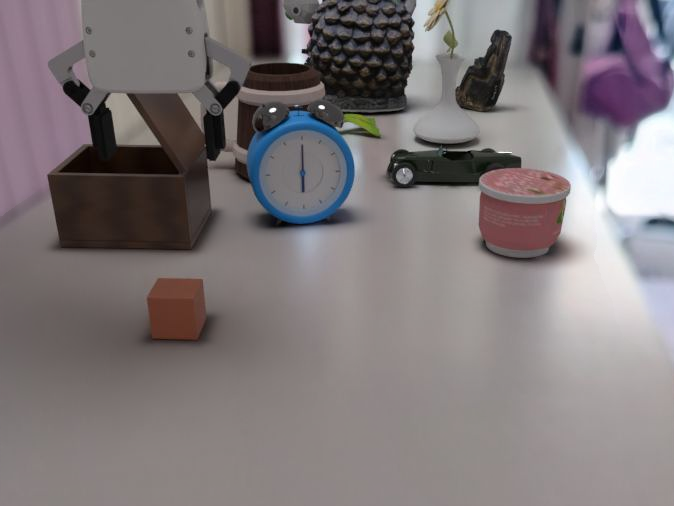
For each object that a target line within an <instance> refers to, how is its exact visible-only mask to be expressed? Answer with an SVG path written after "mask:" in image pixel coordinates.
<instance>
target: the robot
mask: <svg viewBox="0 0 674 506" xmlns="http://www.w3.org/2000/svg"><path fill="white" fill-rule="evenodd" d="M319 4H320V2H319V0H283V3H282V7H283V9H284V11H285V12H284V15H285V17H286V18H287V19H288V20H289V21H293V23H294V24H300V25H301V24H302V25H311V24H312V19H311V17H312V16H313V15H314V11H315V10H316V9H317V8H318V5H319ZM301 54H303V55H306V56H307V57H306V59H305V61H304V63H303V64H305V65H309V66H311V67H313V66H312V65H311V63H310V60H311V53H310V51H309V50H308V49H307V48H301Z"/></svg>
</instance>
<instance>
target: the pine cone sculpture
mask: <svg viewBox="0 0 674 506" xmlns="http://www.w3.org/2000/svg"><path fill="white" fill-rule="evenodd" d="M416 8H417V0H322V1H321V3H319V5H318V8H317V9H316V10H315V11H314V15H313V16H312V17H311V19H312V23H311V24H308V27H307V33H308V35H309V37H310V38H309V40H308V42H307V44H306V49H308V50H309V51H310V53H311V60H310V63H311V65H312V66H313V68H314V69H315V70H316V71H318V72H319V78H320V81H321V82H322V83H323V84H324V88H325V96H324V97H323V99H326V100H329V101H332V100H334V104H336V105H337V106H339V108H340V109H341V110H342V112H343V113H349V112H350V113H359V112H360V113H378V112H382V113H383V112H392V111H393V112H395V111H400V110H405V108H406V106H407V103H408V98H407V95H406V93H405V92H406V91H405V90H406V88H407V86H408V79H409V78H410V75H411V74H412V71H413V68H414V67H413V52H414V50H415V48H416V47H415V45H414V43H413V41H414V39H415V31H414V30H413V28H414V26H415V24H416V22H415V20H414V19H413V14H414V12H415V10H416Z"/></svg>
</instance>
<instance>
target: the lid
mask: <svg viewBox="0 0 674 506" xmlns="http://www.w3.org/2000/svg"><path fill="white" fill-rule="evenodd" d="M125 94H126V96H127V97H128V99H129V101H130V102H131V103H132V104H133V106H134V108H135V110H136V111H137V112H138V114H139V116H140V117H141V118H142V119H143V121H144V123H145V124H146V125H147V127H148V128H149V130H150V131H151V133H152V135H153V136H154V138H155V139H156V140H157V142H158V143H159V145H161V146H162V148H163V149H164V151H165V152H166V154H167V155H168V156H169V158H170V159H171V161H172V162H173V164H174V165H175V167H176V168H177V170H178V171H179V173H180V174H183V173H184V172H186V171H187V169H188V168H189V167H190V165H191V164H192V162H193V161H194V160H195V158H196V157H197V155H198V154H199V153H200V151H201V150H202V149H203V147H204V146H206V144H205V135H204V134H203V131H202V128H201V126H199V124H198V123H197V122H196V119H195V118H194V117H193V115H192V114H191V111H190V110H189V109H188V107H187V106H186V104H185V103H184V101H183V100H182V98H181V97H180V95H179V93H125Z"/></svg>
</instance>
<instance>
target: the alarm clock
mask: <svg viewBox="0 0 674 506" xmlns="http://www.w3.org/2000/svg"><path fill="white" fill-rule="evenodd" d="M261 105H262V106H260V107H259V108H258V109H257V110H256V112H255V113H254V116H253V119H252V124H253V128H254V130H255V131H256V133H255V135H254V137H253V138H252V140H251V143H250V145H249V148H248V153H247V172H248V176H249V179H250V180H249V182H250V184H251V188H252V192H253V193H254V196H255V198H256V200H257V201H258V203H259V204H260V206H261V207H262V208H263V209H264V210H265V211H266V212H267V213H268V214H270V215H271V216H273V217H275V218H276V219H277V222H276V226H279V225H280V224H281V223H282V221H283V222H286V223H288V224H289V223H290V224H297V225H307V224H312V223H316V222H319V221H321V220H324V219H326V220H327V221H328V222H329V223H330V222H332V220H331V217H330V216H332V215H333V214H334V213H335V212H337V211H338V209H340V208H341V207H342V205H343V204H344V203H345V202H346V200H347V199H348V197H349V195H350V193H351V191H352V188H353V185H354V181H355V172H356V169H355V168H356V167H355V159H354V156H353V153H352V150H351V148H350V146H349V144H348V142H347V141H346V140H345V138H344V137H343V136H342V134H340V133H341V132H339V131H338V129H337V128H339V129H342V128H343V127H344V124H345V123H344V115H345V114H344V112H342V110H341V109H340V108H339V106H337V105H336V104H334V100H332V101H329V100H326V99H317V100H314V101H313V102H311V103H310V104H309V106H308V108H307V110H308V111H309V112H306V111H299V108H303V105H294V108H298V111H290V110H289V108H288V107H287V106H286V105H285V104H284V103H282V102H278V101H271V102H267V103H265V104H264V103H262V104H261ZM334 126H335V127H334Z"/></svg>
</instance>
